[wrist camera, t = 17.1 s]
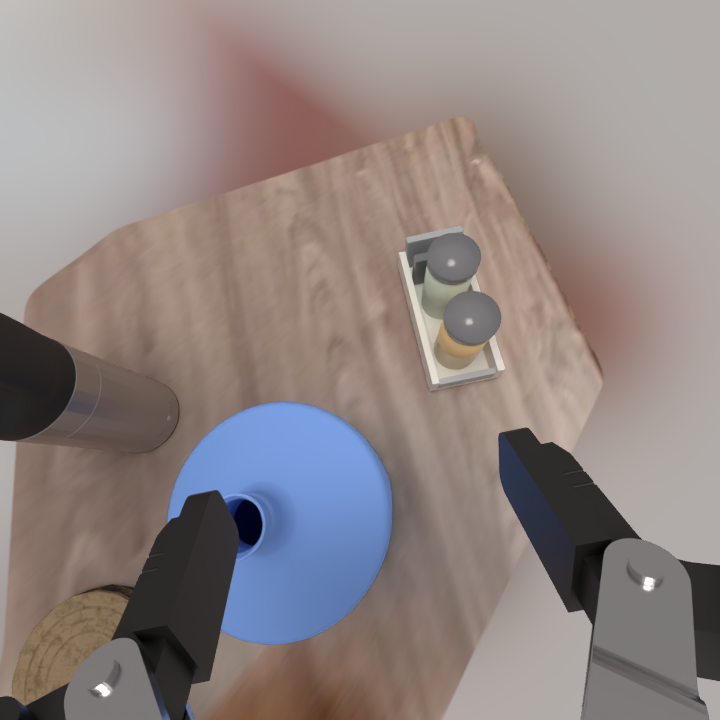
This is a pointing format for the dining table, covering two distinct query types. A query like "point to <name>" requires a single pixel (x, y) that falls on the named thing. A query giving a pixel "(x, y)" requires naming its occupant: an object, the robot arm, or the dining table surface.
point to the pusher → (419, 268)
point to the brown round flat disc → (67, 640)
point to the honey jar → (466, 329)
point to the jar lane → (427, 327)
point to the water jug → (293, 517)
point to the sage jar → (448, 271)
